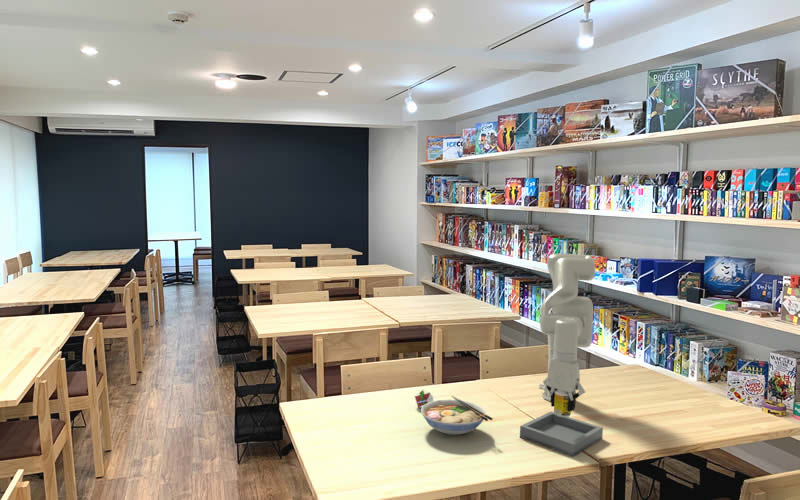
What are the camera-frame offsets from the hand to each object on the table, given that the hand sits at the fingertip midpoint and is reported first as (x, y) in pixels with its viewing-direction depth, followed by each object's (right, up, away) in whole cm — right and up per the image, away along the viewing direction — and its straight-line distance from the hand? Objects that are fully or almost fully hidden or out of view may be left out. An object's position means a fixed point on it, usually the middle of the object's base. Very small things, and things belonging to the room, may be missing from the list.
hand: (562, 407), depth 198 cm
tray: (0, -11, +1) cm, 11 cm away
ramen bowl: (-37, -10, +5) cm, 39 cm away
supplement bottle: (0, -3, 0) cm, 3 cm away
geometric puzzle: (-46, -8, +27) cm, 54 cm away
